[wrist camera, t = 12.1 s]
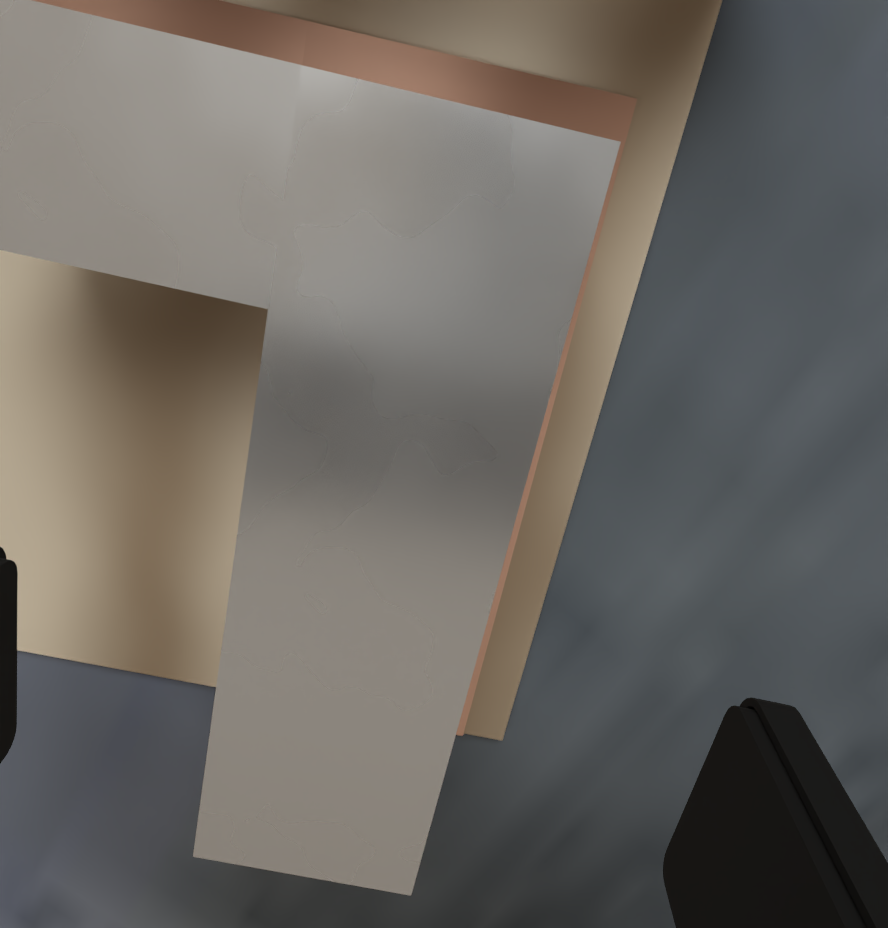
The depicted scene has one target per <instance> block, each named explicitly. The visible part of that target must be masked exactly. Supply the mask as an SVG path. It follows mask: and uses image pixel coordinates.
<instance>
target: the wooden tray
mask: <svg viewBox="0 0 888 928" xmlns="http://www.w3.org/2000/svg"><path fill="white" fill-rule="evenodd" d="M33 1H37V2H41V3H45V4H49V5H53V6H58V7H62V8H66V9H70V10H74V11H78V12H82V13H87V14H91V15H95V16H99V17H103V18H107V19H112V20H116V21H120V22H124V23H128V24H132V25H137V26H141V27H145V28H149V29H153V30H157V31H162V32H166V33H170V34H174V35H178V36H182V37H187V38H191V39H195V40H199V41H203V42H207V43H212V44H216V45H220V46H224V47H228V48H232V49H236V50H241V51H245V52H249V53H253V54H257V55H261V56H266V57H270V58H274V59H278V60H282V61H286V62H291V63H295V64H299V65H303V66H307V67H311V68H316V69H320V70H324V71H328V72H332V73H336V74H341V75H345V76H349V77H353V78H357V79H361V80H366V81H370V82H374V83H378V84H382V85H386V86H390V87H395V88H399V89H403V90H407V91H411V92H415V93H420V94H424V95H428V96H432V97H436V98H440V99H445V100H449V101H453V102H457V103H461V104H465V105H470V106H474V107H478V108H482V109H486V110H490V111H495V112H499V113H503V114H507V115H511V116H515V117H520V118H524V119H528V120H532V121H536V122H540V123H544V124H549V125H553V126H557V127H561V128H565V129H569V130H574V131H578V132H582V133H586V134H590V135H594V136H599V137H603V138H607V139H611V140H615V141H619V142H621V143H620V146H619V150H618V153H617V157H616V161H615V164H614V168H613V171H612V175H611V179H610V182H609V186H608V189H607V193H606V197H605V200H604V204H603V207H602V211H601V215H600V218H599V222H598V225H597V229H596V233H595V236H594V240H593V243H592V247H591V251H590V254H589V258H588V261H587V265H586V268H585V272H584V276H583V279H582V283H581V286H580V290H579V294H578V297H577V301H576V304H575V308H574V312H573V315H572V319H571V322H570V326H569V330H568V333H567V337H566V340H565V344H564V348H563V351H562V355H561V358H560V362H559V366H558V369H557V373H556V376H555V380H554V384H553V387H552V391H551V394H550V398H549V402H548V405H547V409H546V412H545V416H544V420H543V423H542V427H541V430H540V434H539V438H538V441H537V445H536V448H535V452H534V456H533V459H532V463H531V466H530V470H529V473H528V477H527V481H526V484H525V488H524V491H523V495H522V499H521V502H520V506H519V509H518V513H517V517H516V520H515V524H514V527H513V531H512V535H511V538H510V542H509V545H508V549H507V553H506V556H505V560H504V563H503V567H502V571H501V574H500V578H499V581H498V585H497V589H496V592H495V596H494V599H493V603H492V607H491V610H490V614H489V617H488V621H487V625H486V628H485V632H484V635H483V639H482V643H481V646H480V650H479V653H478V657H477V660H476V664H475V668H474V671H473V675H472V678H471V682H470V686H469V689H468V693H467V696H466V700H465V704H464V707H463V711H462V714H461V718H460V722H459V725H458V729H457V732H456V735H460V736H463V734H470V735H475V736H480V737H486V738H491V739H496V740H503V737H504V733H505V730H506V727H507V723H508V720H509V716H510V713H511V710H512V706H513V703H514V700H515V696H516V693H517V690H518V686H519V683H520V679H521V676H522V673H523V669H524V666H525V663H526V659H527V656H528V653H529V649H530V646H531V642H532V639H533V636H534V632H535V629H536V626H537V622H538V619H539V616H540V612H541V609H542V605H543V602H544V599H545V595H546V592H547V589H548V585H549V582H550V578H551V575H552V572H553V568H554V565H555V562H556V558H557V555H558V552H559V548H560V545H561V541H562V538H563V535H564V531H565V528H566V525H567V521H568V518H569V515H570V511H571V508H572V504H573V501H574V498H575V494H576V491H577V488H578V484H579V481H580V478H581V474H582V471H583V467H584V464H585V461H586V457H587V454H588V451H589V447H590V444H591V440H592V437H593V434H594V430H595V427H596V424H597V420H598V417H599V414H600V410H601V407H602V403H603V400H604V397H605V393H606V390H607V387H608V383H609V380H610V377H611V373H612V370H613V366H614V363H615V360H616V356H617V353H618V350H619V346H620V343H621V340H622V336H623V333H624V329H625V326H626V323H627V319H628V316H629V313H630V309H631V306H632V303H633V299H634V296H635V292H636V289H637V286H638V282H639V279H640V276H641V272H642V269H643V265H644V262H645V259H646V255H647V252H648V249H649V245H650V242H651V239H652V235H653V232H654V228H655V225H656V222H657V218H658V215H659V212H660V208H661V205H662V202H663V198H664V195H665V191H666V188H667V185H668V181H669V178H670V175H671V171H672V168H673V165H674V161H675V158H676V154H677V151H678V148H679V144H680V141H681V138H682V134H683V131H684V127H685V124H686V121H687V117H688V114H689V111H690V107H691V104H692V101H693V97H694V94H695V90H696V87H697V84H698V80H699V77H700V74H701V70H702V67H703V64H704V60H705V57H706V53H707V50H708V47H709V43H710V40H711V37H712V33H713V30H714V27H715V23H716V20H717V16H718V13H719V10H720V6H721V3H722V0H33ZM267 313H268V309H265V308H260V307H256V306H251V305H247V304H242V303H238V302H233V301H229V300H224V299H220V298H215V297H211V296H206V295H201V294H197V293H192V292H188V291H183V290H179V289H174V288H170V287H165V286H161V285H156V284H152V283H147V282H143V281H138V280H134V279H129V278H125V277H120V276H116V275H111V274H107V273H102V272H98V271H93V270H88V269H84V268H79V267H75V266H70V265H66V264H61V263H57V262H52V261H48V260H43V259H39V258H34V257H30V256H25V255H21V254H16V253H12V252H7V251H3V250H0V547H1V548H3V549H4V552H5V554H6V559H8V560H12V561H14V562H15V564H16V566H17V572H18V577H17V650H19V651H24V652H30V653H35V654H40V655H46V656H51V657H56V658H62V659H67V660H73V661H78V662H83V663H89V664H94V665H99V666H105V667H110V668H116V669H121V670H126V671H132V672H137V673H142V674H148V675H153V676H158V677H164V678H169V679H175V680H180V681H185V682H191V683H196V684H201V685H207V686H212V687H216V684H217V677H218V670H219V663H220V655H221V648H222V641H223V633H224V626H225V619H226V612H227V604H228V597H229V590H230V583H231V575H232V568H233V561H234V553H235V546H236V539H237V532H238V524H239V517H240V510H241V502H242V495H243V488H244V481H245V473H246V466H247V459H248V451H249V444H250V437H251V430H252V422H253V415H254V408H255V401H256V393H257V386H258V379H259V371H260V364H261V357H262V350H263V342H264V335H265V328H266V320H267Z"/></svg>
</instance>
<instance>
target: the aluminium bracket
mask: <svg viewBox="0 0 888 928" xmlns="http://www.w3.org/2000/svg"><path fill="white" fill-rule="evenodd" d="M620 143H621V142H619V141H615V140H611V139H607V138H603V137H599V136H594V135H590V134H586V133H582V132H578V131H574V130H569V129H565V128H561V127H557V126H553V125H549V124H544V123H540V122H536V121H532V120H528V119H524V118H520V117H515V116H511V115H507V114H503V113H499V112H495V111H490V110H486V109H482V108H478V107H474V106H470V105H465V104H461V103H457V102H453V101H449V100H445V99H440V98H436V97H432V96H428V95H424V94H420V93H415V92H411V91H407V90H403V89H399V88H395V87H390V86H386V85H382V84H378V83H374V82H370V81H366V80H361V79H357V78H353V77H349V76H345V75H341V74H336V73H332V72H328V71H324V70H320V69H316V68H311V67H307V66H303V65H299V64H295V63H291V62H286V61H282V60H278V59H274V58H270V57H266V56H261V55H257V54H253V53H249V52H245V51H241V50H236V49H232V48H228V47H224V46H220V45H216V44H212V43H207V42H203V41H199V40H195V39H191V38H187V37H182V36H178V35H174V34H170V33H166V32H162V31H157V30H153V29H149V28H145V27H141V26H137V25H132V24H128V23H124V22H120V21H116V20H112V19H107V18H103V17H99V16H95V15H91V14H87V13H82V12H78V11H74V10H70V9H66V8H62V7H58V6H53V5H49V4H45V3H41V2H37V1H33V0H0V250H3V251H7V252H12V253H16V254H21V255H25V256H30V257H34V258H39V259H43V260H48V261H52V262H57V263H61V264H66V265H70V266H75V267H79V268H84V269H88V270H93V271H98V272H102V273H107V274H111V275H116V276H120V277H125V278H129V279H134V280H138V281H143V282H147V283H152V284H156V285H161V286H165V287H170V288H174V289H179V290H183V291H188V292H192V293H197V294H201V295H206V296H211V297H215V298H220V299H224V300H229V301H233V302H238V303H242V304H247V305H251V306H256V307H260V308H265V309H268V313H267V320H266V328H265V335H264V342H263V350H262V357H261V364H260V371H259V379H258V386H257V393H256V401H255V408H254V415H253V422H252V430H251V437H250V444H249V451H248V459H247V466H246V473H245V481H244V488H243V495H242V502H241V510H240V517H239V524H238V532H237V539H236V546H235V553H234V561H233V568H232V575H231V583H230V590H229V597H228V604H227V612H226V619H225V626H224V633H223V641H222V648H221V655H220V663H219V670H218V677H217V684H216V692H215V699H214V706H213V714H212V721H211V728H210V735H209V743H208V750H207V757H206V765H205V772H204V779H203V786H202V794H201V801H200V808H199V816H198V823H197V830H196V837H195V845H194V852H193V857H197V858H203V859H209V860H214V861H220V862H225V863H231V864H237V865H242V866H248V867H253V868H259V869H265V870H270V871H276V872H281V873H287V874H292V875H298V876H304V877H309V878H315V879H320V880H326V881H332V882H337V883H343V884H348V885H354V886H360V887H365V888H371V889H376V890H382V891H388V892H393V893H399V894H404V895H410V896H411V894H412V891H413V887H414V883H415V880H416V876H417V873H418V869H419V865H420V862H421V858H422V855H423V851H424V848H425V844H426V840H427V837H428V833H429V830H430V826H431V822H432V819H433V815H434V812H435V808H436V804H437V801H438V797H439V794H440V790H441V786H442V783H443V779H444V776H445V772H446V768H447V765H448V761H449V758H450V754H451V750H452V747H453V743H454V740H455V736H456V732H457V729H458V725H459V722H460V718H461V714H462V711H463V707H464V704H465V700H466V696H467V693H468V689H469V686H470V682H471V678H472V675H473V671H474V668H475V664H476V660H477V657H478V653H479V650H480V646H481V643H482V639H483V635H484V632H485V628H486V625H487V621H488V617H489V614H490V610H491V607H492V603H493V599H494V596H495V592H496V589H497V585H498V581H499V578H500V574H501V571H502V567H503V563H504V560H505V556H506V553H507V549H508V545H509V542H510V538H511V535H512V531H513V527H514V524H515V520H516V517H517V513H518V509H519V506H520V502H521V499H522V495H523V491H524V488H525V484H526V481H527V477H528V473H529V470H530V466H531V463H532V459H533V456H534V452H535V448H536V445H537V441H538V438H539V434H540V430H541V427H542V423H543V420H544V416H545V412H546V409H547V405H548V402H549V398H550V394H551V391H552V387H553V384H554V380H555V376H556V373H557V369H558V366H559V362H560V358H561V355H562V351H563V348H564V344H565V340H566V337H567V333H568V330H569V326H570V322H571V319H572V315H573V312H574V308H575V304H576V301H577V297H578V294H579V290H580V286H581V283H582V279H583V276H584V272H585V268H586V265H587V261H588V258H589V254H590V251H591V247H592V243H593V240H594V236H595V233H596V229H597V225H598V222H599V218H600V215H601V211H602V207H603V204H604V200H605V197H606V193H607V189H608V186H609V182H610V179H611V175H612V171H613V168H614V164H615V161H616V157H617V153H618V150H619V146H620Z"/></svg>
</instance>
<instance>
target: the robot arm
mask: <svg viewBox="0 0 888 928" xmlns="http://www.w3.org/2000/svg"><path fill="white" fill-rule="evenodd" d="M17 577H18V572H17V566H16V564H15V562H14V561H12V560H8V559H6V554H5V552H4V549H3V548H1V547H0V763H1V762H2V760H3V759H4V758H5V756H6V755H7V753H8V751H9V749H10V747H11V745H12V743H13V740H14V737H15V733H16V725H17ZM663 877H664V883H665V887H666V891H667V895H668V899H669V903H670V906H671V910H672V914H673V918H674V922H675V925H676V928H888V863H887V861H886V859H885V858H884V856H883V854H882V853H881V851H880V849H879V847H878V846H877V844H876V842H875V841H874V839H873V837H872V836H871V834H870V832H869V830H868V829H867V827H866V825H865V824H864V822H863V820H862V819H861V817H860V815H859V813H858V812H857V810H856V808H855V807H854V805H853V803H852V801H851V800H850V798H849V796H848V795H847V793H846V791H845V790H844V788H843V786H842V784H841V783H840V781H839V779H838V778H837V776H836V774H835V773H834V771H833V769H832V767H831V766H830V764H829V762H828V761H827V759H826V757H825V755H824V754H823V752H822V750H821V749H820V747H819V745H818V744H817V742H816V740H815V738H814V737H813V735H812V733H811V732H810V730H809V728H808V727H807V725H806V723H805V721H804V720H803V718H802V716H801V715H800V713H799V712H798V711H797V709H796V708H795V707H792V706H790V705H785V704H780V703H776V702H771V701H766V700H761V699H756V698H747V699H745V700H744V701H743V702H742V703H741V705H740V707H739V706H731V707H730V708H729V709H728V710H727V712H726V714H725V716H724V718H723V721H722V723H721V725H720V727H719V730H718V732H717V734H716V737H715V739H714V741H713V744H712V746H711V748H710V751H709V753H708V755H707V758H706V760H705V762H704V765H703V767H702V769H701V771H700V774H699V776H698V778H697V781H696V783H695V785H694V788H693V790H692V792H691V795H690V797H689V799H688V802H687V804H686V806H685V809H684V811H683V813H682V815H681V818H680V820H679V822H678V825H677V827H676V829H675V832H674V834H673V836H672V839H671V841H670V843H669V846H668V848H667V850H666V853H665V857H664V864H663Z"/></svg>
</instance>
